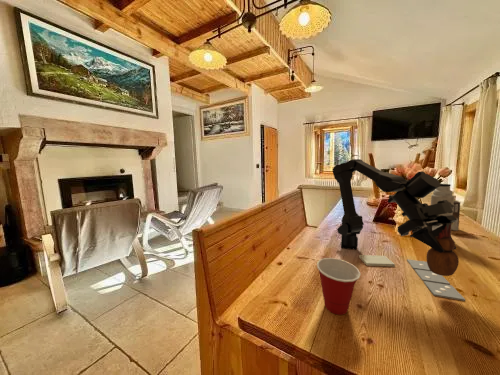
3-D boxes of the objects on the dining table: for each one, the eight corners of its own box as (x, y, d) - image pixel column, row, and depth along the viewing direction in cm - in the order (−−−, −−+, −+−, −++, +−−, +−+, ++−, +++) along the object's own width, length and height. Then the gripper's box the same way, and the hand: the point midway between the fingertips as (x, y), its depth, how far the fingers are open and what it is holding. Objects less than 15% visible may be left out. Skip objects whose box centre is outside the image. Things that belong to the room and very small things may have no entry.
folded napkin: (366, 265, 77) (366, 263, 77) (359, 257, 84) (359, 255, 84) (394, 266, 76) (394, 264, 76) (384, 258, 83) (384, 255, 82)
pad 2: (422, 280, 66) (422, 279, 66) (414, 270, 73) (414, 269, 73) (449, 285, 64) (450, 283, 64) (439, 273, 70) (439, 272, 70)
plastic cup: (348, 330, 48) (349, 283, 46) (308, 307, 56) (308, 266, 54) (365, 308, 55) (367, 267, 53) (328, 290, 63) (328, 254, 61)
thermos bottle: (425, 236, 105) (428, 183, 101) (444, 237, 102) (448, 183, 99) (433, 242, 97) (437, 184, 94) (454, 243, 94) (459, 184, 91)
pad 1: (413, 269, 74) (413, 267, 74) (406, 260, 80) (406, 259, 80) (437, 272, 71) (437, 271, 71) (428, 263, 77) (429, 261, 77)
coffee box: (455, 227, 116) (457, 200, 114) (458, 231, 111) (461, 202, 109) (434, 225, 121) (436, 199, 119) (436, 228, 116) (438, 201, 114)
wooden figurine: (446, 269, 62) (450, 222, 61) (461, 279, 57) (467, 228, 55) (421, 267, 64) (425, 221, 62) (434, 277, 58) (439, 227, 56)
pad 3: (433, 295, 59) (433, 293, 59) (423, 282, 65) (423, 281, 65) (465, 301, 56) (465, 299, 56) (451, 286, 63) (451, 285, 63)
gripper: (409, 193, 58) (454, 244, 49) (452, 189, 64) (498, 234, 55) (383, 213, 67) (417, 259, 58) (422, 208, 72) (458, 250, 63)
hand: (448, 250), depth 58 cm, fingers closed on wooden figurine, 5 cm apart
